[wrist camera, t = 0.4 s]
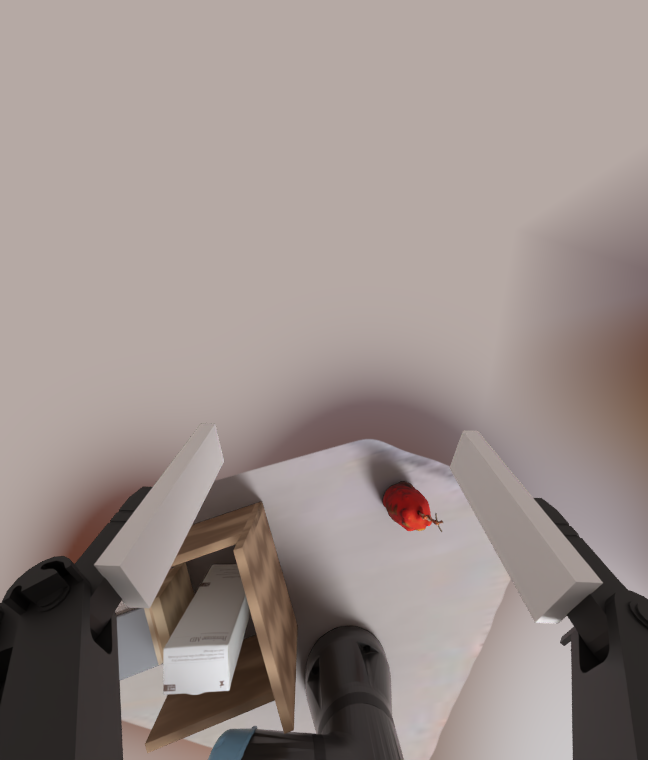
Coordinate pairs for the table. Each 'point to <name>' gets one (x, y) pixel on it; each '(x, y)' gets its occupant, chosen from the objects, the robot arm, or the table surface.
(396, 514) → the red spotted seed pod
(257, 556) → the walnut rack
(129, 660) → the grey rubber mat
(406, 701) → the table surface
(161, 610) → the offcut bundle
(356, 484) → the table surface
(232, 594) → the skincare box
